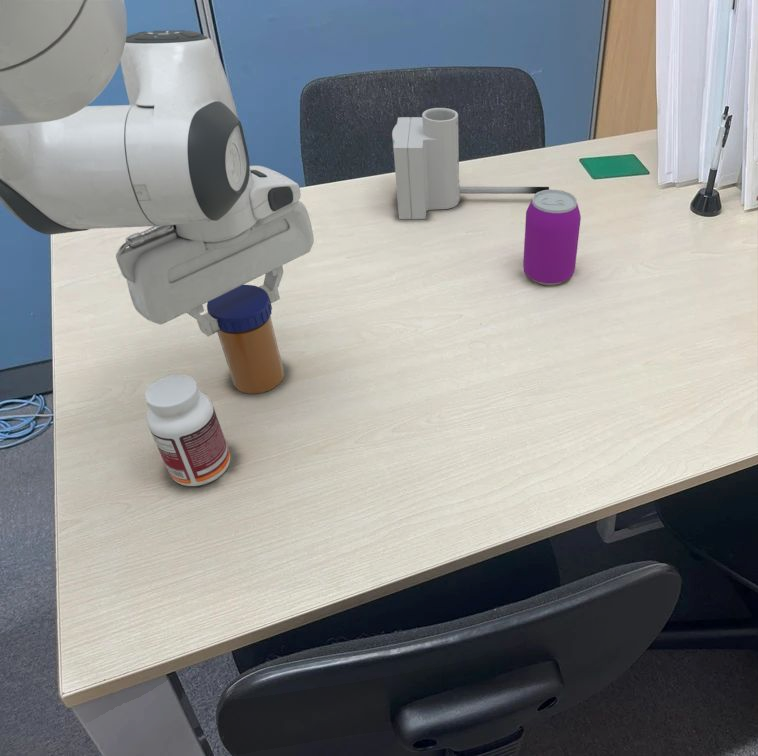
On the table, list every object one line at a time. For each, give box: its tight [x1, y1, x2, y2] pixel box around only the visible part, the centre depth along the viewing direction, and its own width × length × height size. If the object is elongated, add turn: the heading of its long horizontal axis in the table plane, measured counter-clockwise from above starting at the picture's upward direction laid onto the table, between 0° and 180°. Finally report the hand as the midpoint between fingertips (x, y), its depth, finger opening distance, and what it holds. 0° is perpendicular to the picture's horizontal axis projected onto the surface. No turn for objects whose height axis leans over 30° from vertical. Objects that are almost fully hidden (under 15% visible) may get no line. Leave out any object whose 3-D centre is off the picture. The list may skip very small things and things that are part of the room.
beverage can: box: [522, 189, 582, 286], centre depth 101 cm, size 8×8×12 cm
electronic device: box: [391, 107, 550, 220], centre depth 116 cm, size 12×26×15 cm, turn 93°
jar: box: [216, 315, 285, 395], centre depth 82 cm, size 6×6×11 cm
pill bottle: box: [144, 373, 231, 487], centre depth 71 cm, size 6×6×11 cm
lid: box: [206, 284, 273, 332], centre depth 79 cm, size 7×7×2 cm
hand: (242, 315), depth 79 cm, fingers closed on lid, 6 cm apart
